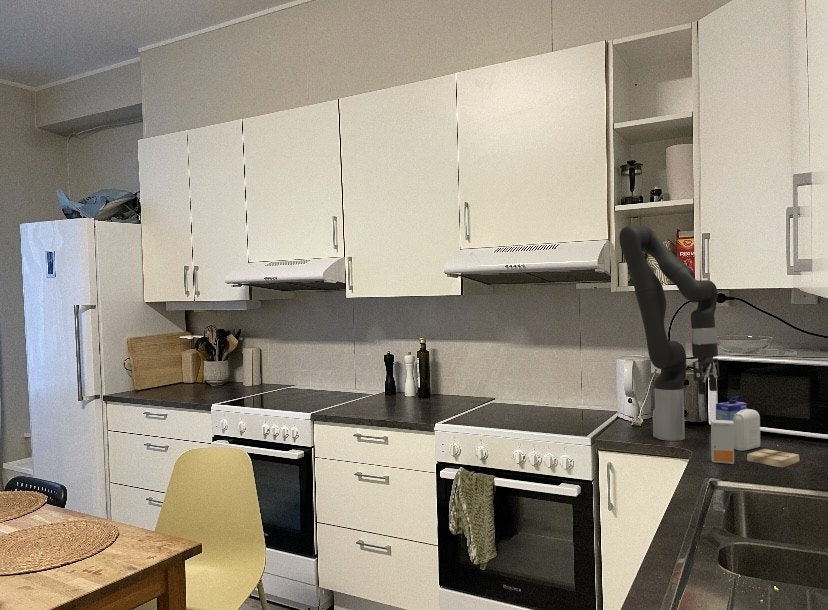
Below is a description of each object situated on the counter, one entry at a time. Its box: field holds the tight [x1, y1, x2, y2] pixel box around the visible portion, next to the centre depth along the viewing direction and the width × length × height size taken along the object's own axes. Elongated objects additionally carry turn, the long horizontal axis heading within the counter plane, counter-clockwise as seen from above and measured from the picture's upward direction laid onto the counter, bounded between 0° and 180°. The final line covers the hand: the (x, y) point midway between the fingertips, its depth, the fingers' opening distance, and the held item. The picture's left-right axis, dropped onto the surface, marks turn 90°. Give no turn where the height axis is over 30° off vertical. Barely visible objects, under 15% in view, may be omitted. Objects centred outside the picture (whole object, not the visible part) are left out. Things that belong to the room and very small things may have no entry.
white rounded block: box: [733, 408, 761, 452], centre depth 208 cm, size 10×4×12 cm, turn 123°
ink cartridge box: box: [715, 395, 748, 421], centre depth 221 cm, size 10×6×14 cm, turn 119°
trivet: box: [746, 448, 800, 468], centre depth 192 cm, size 10×10×2 cm
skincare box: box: [710, 419, 735, 465], centre depth 193 cm, size 6×4×12 cm
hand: (707, 392), depth 211 cm, fingers open, 8 cm apart
